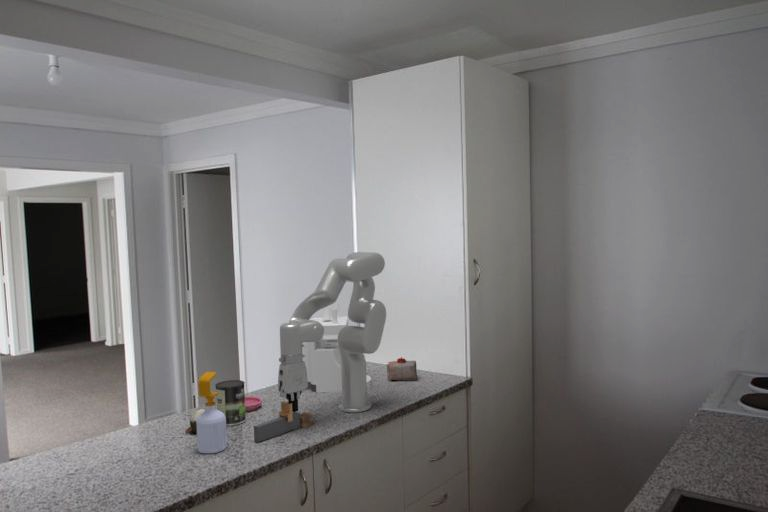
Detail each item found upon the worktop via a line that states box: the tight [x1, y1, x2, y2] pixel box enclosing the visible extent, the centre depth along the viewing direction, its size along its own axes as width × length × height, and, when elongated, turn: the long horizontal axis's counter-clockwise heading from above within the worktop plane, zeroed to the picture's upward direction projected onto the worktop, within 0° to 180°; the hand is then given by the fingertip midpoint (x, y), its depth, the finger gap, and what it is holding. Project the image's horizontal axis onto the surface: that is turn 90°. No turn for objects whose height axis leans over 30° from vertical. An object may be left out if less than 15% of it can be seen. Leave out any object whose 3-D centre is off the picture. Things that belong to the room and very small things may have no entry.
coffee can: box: [214, 379, 247, 427], centre depth 220 cm, size 10×10×14 cm
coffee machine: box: [302, 303, 372, 394], centre depth 266 cm, size 24×30×35 cm
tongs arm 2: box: [255, 412, 301, 443], centre depth 204 cm, size 18×1×5 cm, turn 139°
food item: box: [386, 356, 418, 381], centre depth 272 cm, size 14×8×10 cm, turn 88°
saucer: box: [245, 395, 263, 413], centre depth 236 cm, size 12×12×3 cm
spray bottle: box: [196, 371, 228, 455], centre depth 193 cm, size 9×9×25 cm
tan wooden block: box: [278, 400, 293, 422], centre depth 207 cm, size 2×5×6 cm, turn 49°
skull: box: [185, 408, 205, 436], centre depth 212 cm, size 12×10×10 cm
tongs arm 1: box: [253, 411, 298, 442], centre depth 205 cm, size 18×1×5 cm, turn 140°
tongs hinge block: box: [299, 412, 315, 429], centre depth 214 cm, size 5×4×4 cm
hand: (293, 410), depth 210 cm, fingers closed
